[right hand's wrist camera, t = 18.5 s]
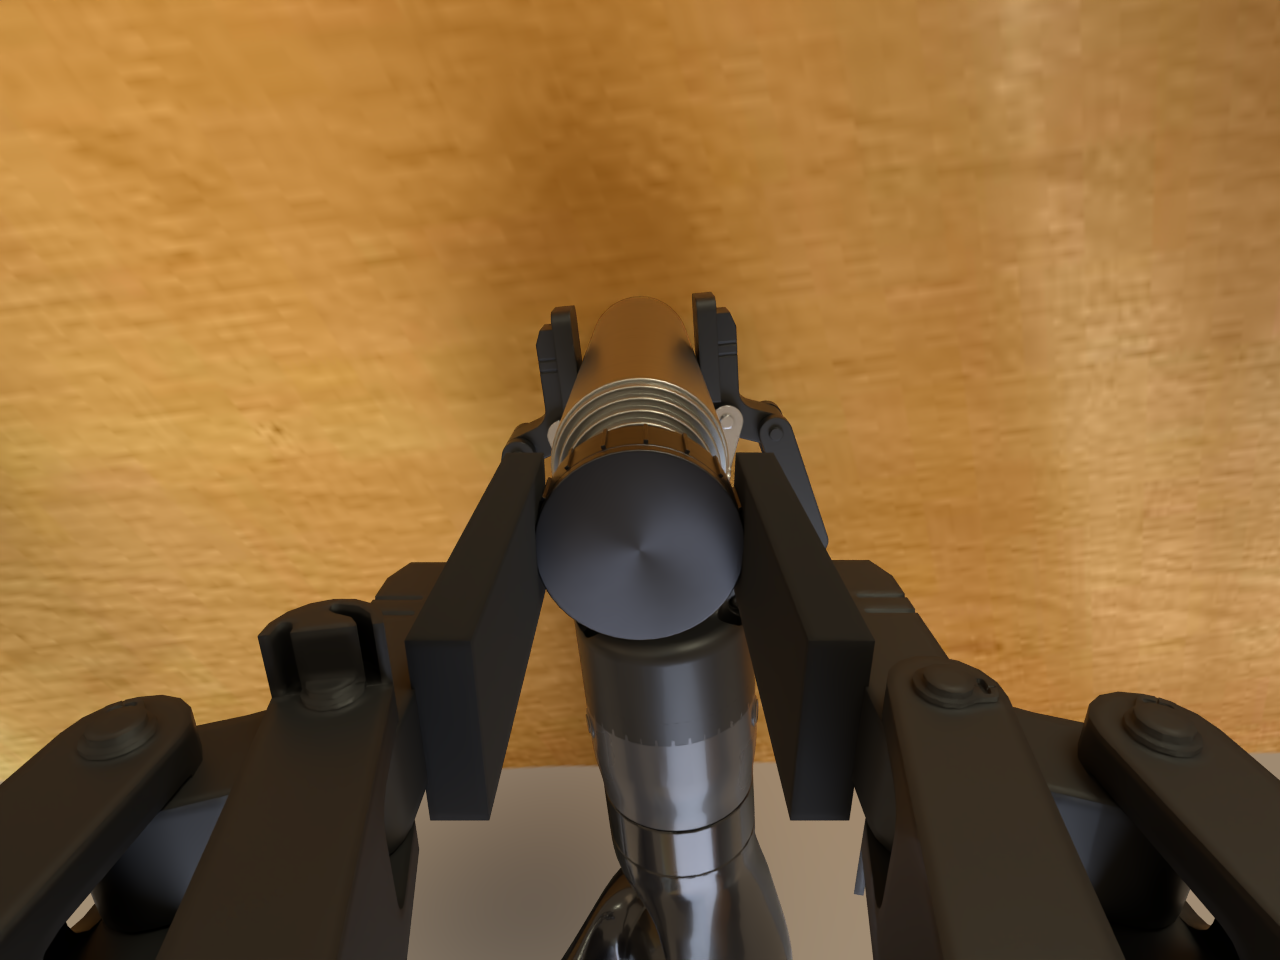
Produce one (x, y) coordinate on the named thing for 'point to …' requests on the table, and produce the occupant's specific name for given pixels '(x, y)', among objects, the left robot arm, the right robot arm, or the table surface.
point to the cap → (639, 533)
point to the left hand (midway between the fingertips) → (633, 304)
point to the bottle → (639, 381)
